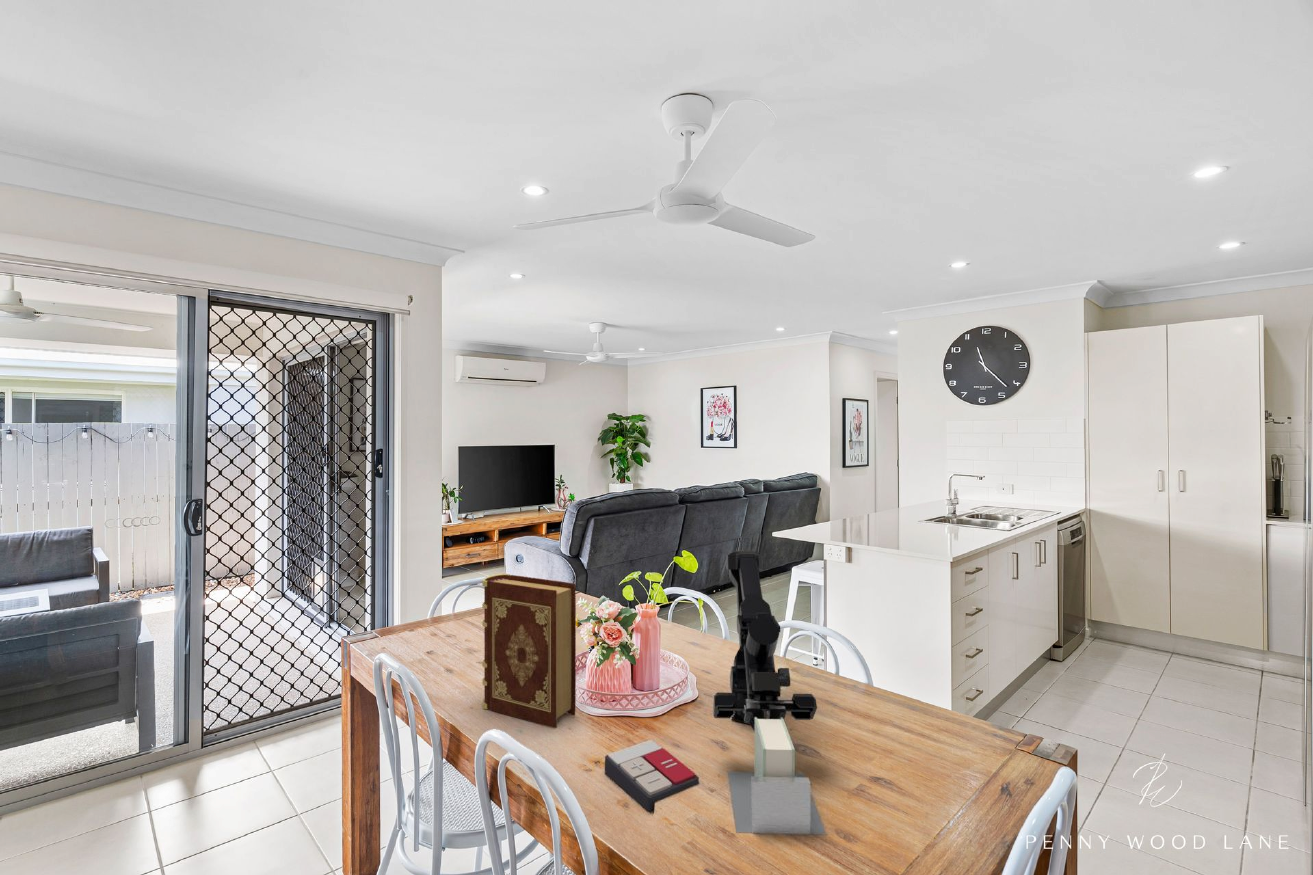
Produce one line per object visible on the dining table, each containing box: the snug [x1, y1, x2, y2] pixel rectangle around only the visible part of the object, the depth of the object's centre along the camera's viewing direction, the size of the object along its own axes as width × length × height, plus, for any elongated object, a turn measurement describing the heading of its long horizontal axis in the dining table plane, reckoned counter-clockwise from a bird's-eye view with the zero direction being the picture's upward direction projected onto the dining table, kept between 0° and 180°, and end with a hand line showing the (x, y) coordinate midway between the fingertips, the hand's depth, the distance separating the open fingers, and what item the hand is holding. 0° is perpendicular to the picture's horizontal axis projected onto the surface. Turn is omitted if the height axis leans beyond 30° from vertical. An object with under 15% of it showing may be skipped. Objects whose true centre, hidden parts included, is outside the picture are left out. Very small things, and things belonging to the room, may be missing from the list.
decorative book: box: [481, 573, 577, 728], centre depth 142 cm, size 22×8×30 cm, turn 62°
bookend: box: [751, 776, 811, 835], centre depth 97 cm, size 2×9×8 cm, turn 88°
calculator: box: [604, 739, 700, 813], centre depth 113 cm, size 11×4×15 cm
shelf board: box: [727, 770, 827, 836], centre depth 105 cm, size 18×14×2 cm
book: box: [754, 717, 796, 777], centre depth 104 cm, size 11×5×12 cm, turn 178°
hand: (768, 754), depth 109 cm, fingers closed, pressing on book
